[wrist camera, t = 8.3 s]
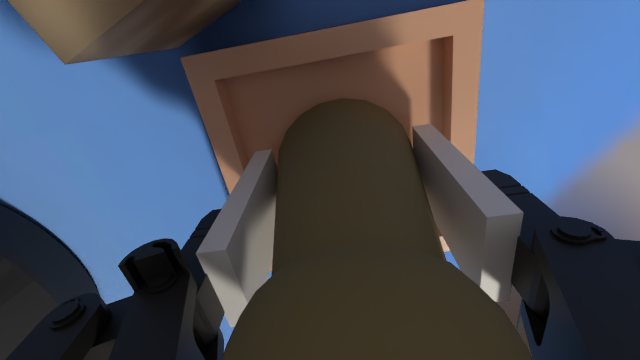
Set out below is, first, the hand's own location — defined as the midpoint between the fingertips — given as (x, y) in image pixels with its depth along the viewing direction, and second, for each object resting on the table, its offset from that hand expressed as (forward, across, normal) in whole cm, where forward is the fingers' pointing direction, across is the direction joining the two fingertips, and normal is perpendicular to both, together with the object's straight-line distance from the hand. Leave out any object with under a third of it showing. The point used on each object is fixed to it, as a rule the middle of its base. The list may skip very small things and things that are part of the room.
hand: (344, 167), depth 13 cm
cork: (0, 0, 0) cm, 0 cm away
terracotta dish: (+1, 0, 0) cm, 1 cm away
